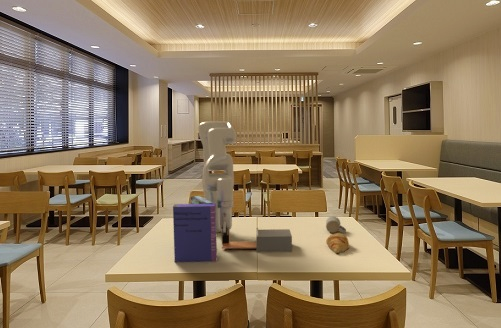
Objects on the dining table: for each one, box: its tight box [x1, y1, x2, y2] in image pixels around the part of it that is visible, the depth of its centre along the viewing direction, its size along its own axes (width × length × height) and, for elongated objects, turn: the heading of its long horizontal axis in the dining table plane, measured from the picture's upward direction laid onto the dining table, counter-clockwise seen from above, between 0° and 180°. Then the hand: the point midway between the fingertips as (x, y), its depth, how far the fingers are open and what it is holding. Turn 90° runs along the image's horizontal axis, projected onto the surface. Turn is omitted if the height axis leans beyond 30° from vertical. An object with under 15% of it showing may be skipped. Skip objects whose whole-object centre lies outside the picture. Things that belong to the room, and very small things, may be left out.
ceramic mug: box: [325, 215, 347, 234], centre depth 198 cm, size 11×8×8 cm
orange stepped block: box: [221, 229, 257, 249], centre depth 173 cm, size 16×8×8 cm, turn 89°
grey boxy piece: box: [256, 227, 293, 253], centre depth 173 cm, size 16×12×8 cm
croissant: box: [325, 232, 349, 254], centre depth 172 cm, size 21×10×8 cm, turn 166°
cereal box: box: [172, 203, 218, 263], centre depth 157 cm, size 17×5×24 cm, turn 91°
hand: (225, 242), depth 173 cm, fingers closed on orange stepped block
